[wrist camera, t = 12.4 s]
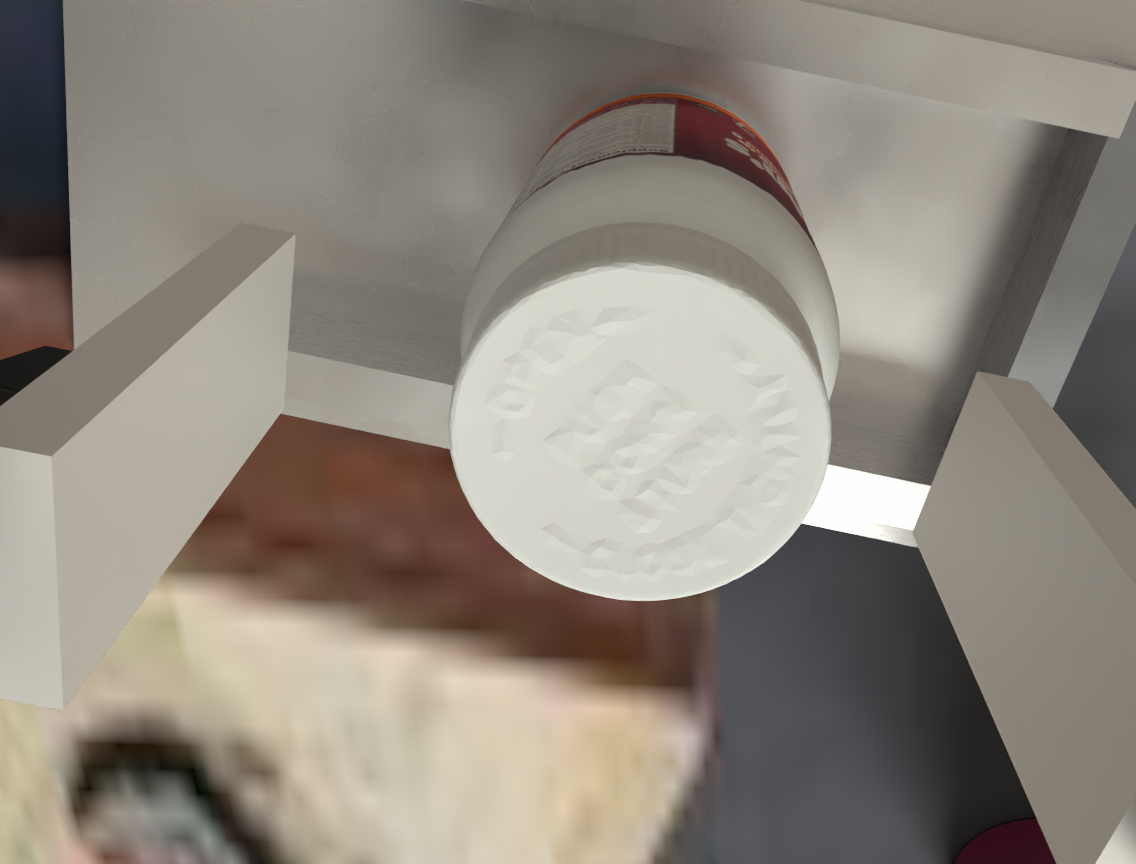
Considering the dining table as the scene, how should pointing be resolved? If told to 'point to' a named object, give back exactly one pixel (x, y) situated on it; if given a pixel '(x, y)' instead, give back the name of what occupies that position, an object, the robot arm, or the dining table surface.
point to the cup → (1009, 845)
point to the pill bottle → (647, 356)
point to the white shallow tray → (556, 100)
